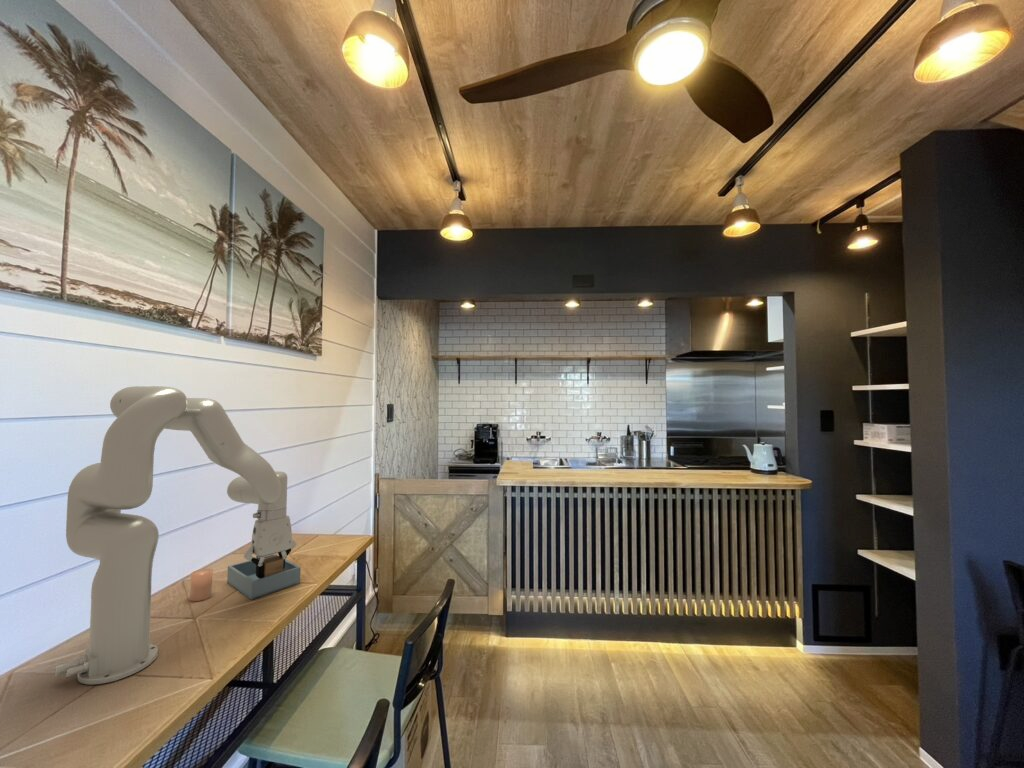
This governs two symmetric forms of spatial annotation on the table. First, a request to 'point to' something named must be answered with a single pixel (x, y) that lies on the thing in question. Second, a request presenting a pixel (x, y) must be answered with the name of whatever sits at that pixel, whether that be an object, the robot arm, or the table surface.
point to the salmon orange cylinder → (201, 584)
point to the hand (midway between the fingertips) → (270, 574)
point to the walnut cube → (272, 565)
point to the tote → (253, 587)
